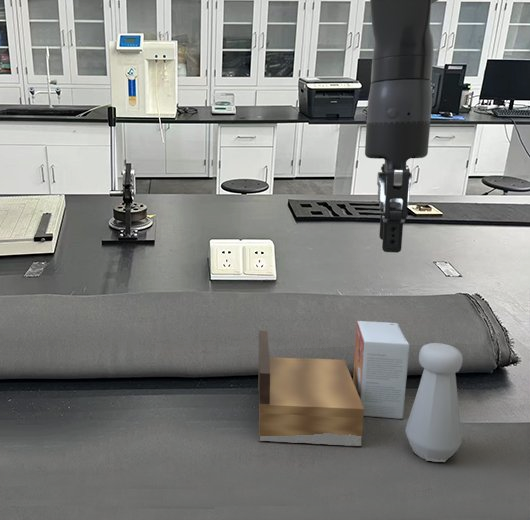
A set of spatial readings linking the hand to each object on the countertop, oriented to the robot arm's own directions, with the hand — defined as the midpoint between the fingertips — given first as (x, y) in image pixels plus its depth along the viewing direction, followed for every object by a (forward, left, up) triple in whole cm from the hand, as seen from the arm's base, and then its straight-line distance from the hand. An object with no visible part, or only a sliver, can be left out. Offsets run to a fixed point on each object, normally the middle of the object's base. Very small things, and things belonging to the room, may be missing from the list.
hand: (389, 245), depth 71 cm
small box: (+1, +3, -22) cm, 22 cm away
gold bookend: (+11, +7, -21) cm, 25 cm away
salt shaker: (-3, +15, -22) cm, 26 cm away
